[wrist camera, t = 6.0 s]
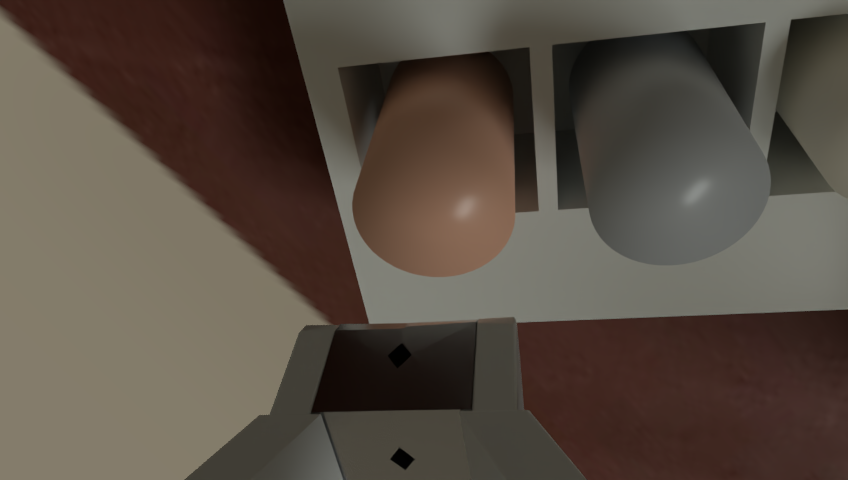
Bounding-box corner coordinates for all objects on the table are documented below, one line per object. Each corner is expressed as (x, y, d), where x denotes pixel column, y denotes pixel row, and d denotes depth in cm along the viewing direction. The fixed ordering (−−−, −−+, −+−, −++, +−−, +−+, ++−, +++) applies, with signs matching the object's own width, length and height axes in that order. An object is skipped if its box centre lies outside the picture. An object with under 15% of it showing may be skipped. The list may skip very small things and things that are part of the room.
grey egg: (567, 25, 14) (587, 128, 10) (710, 9, 13) (784, 111, 10) (569, 145, 16) (588, 269, 12) (698, 134, 15) (757, 260, 12)
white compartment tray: (314, -153, 15) (252, -114, 11) (989, -262, 13) (1181, -257, 9) (394, 223, 21) (370, 328, 17) (864, 193, 18) (949, 305, 15)
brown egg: (378, 46, 15) (336, 149, 11) (508, 32, 14) (509, 134, 11) (399, 158, 16) (369, 281, 13) (517, 149, 16) (520, 273, 12)
